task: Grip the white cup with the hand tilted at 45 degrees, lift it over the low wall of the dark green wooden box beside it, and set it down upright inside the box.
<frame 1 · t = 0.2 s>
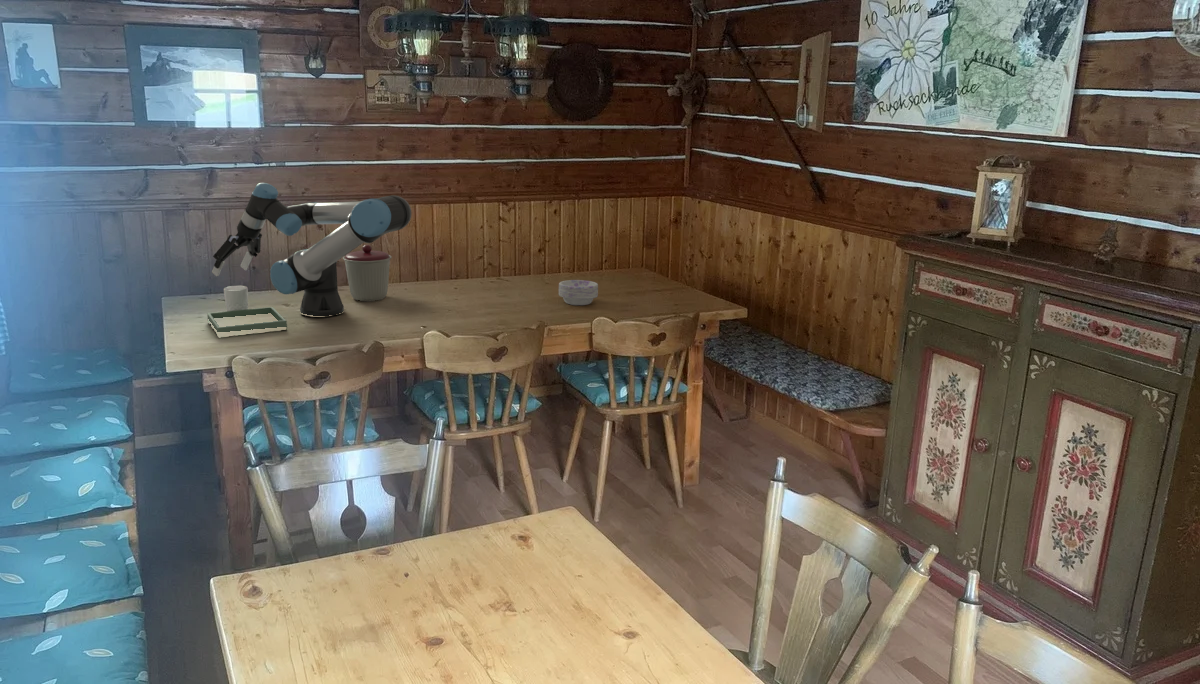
hand: (229, 271, 326), 15 cm above the table, tool tilted 35°, fingers open, 13 cm apart
white cup: (238, 316, 326), on the table
paper bowls: (578, 303, 356), on the table
green box: (247, 326, 312), on the table
canister: (369, 299, 355), on the table
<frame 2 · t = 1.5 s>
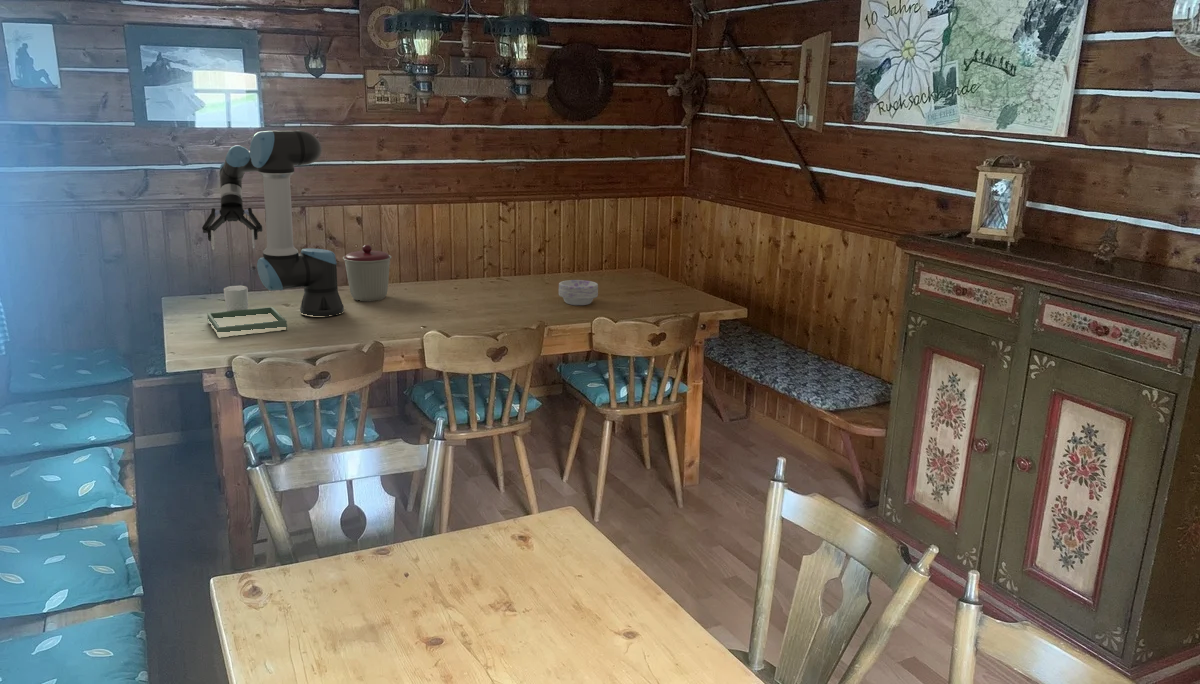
hand: (233, 247, 330), 23 cm above the table, tool tilted 45°, fingers open, 13 cm apart
nothing on the table moved.
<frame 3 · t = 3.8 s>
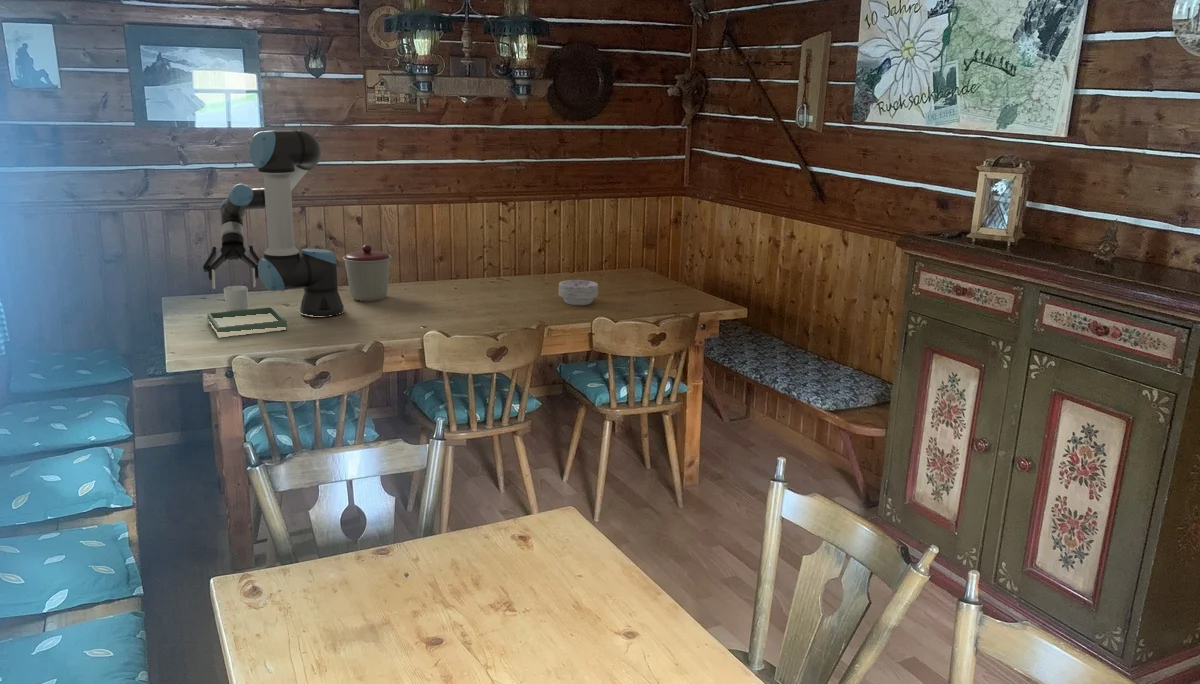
hand: (234, 286, 328), 10 cm above the table, tool tilted 45°, fingers open, 13 cm apart
nothing on the table moved.
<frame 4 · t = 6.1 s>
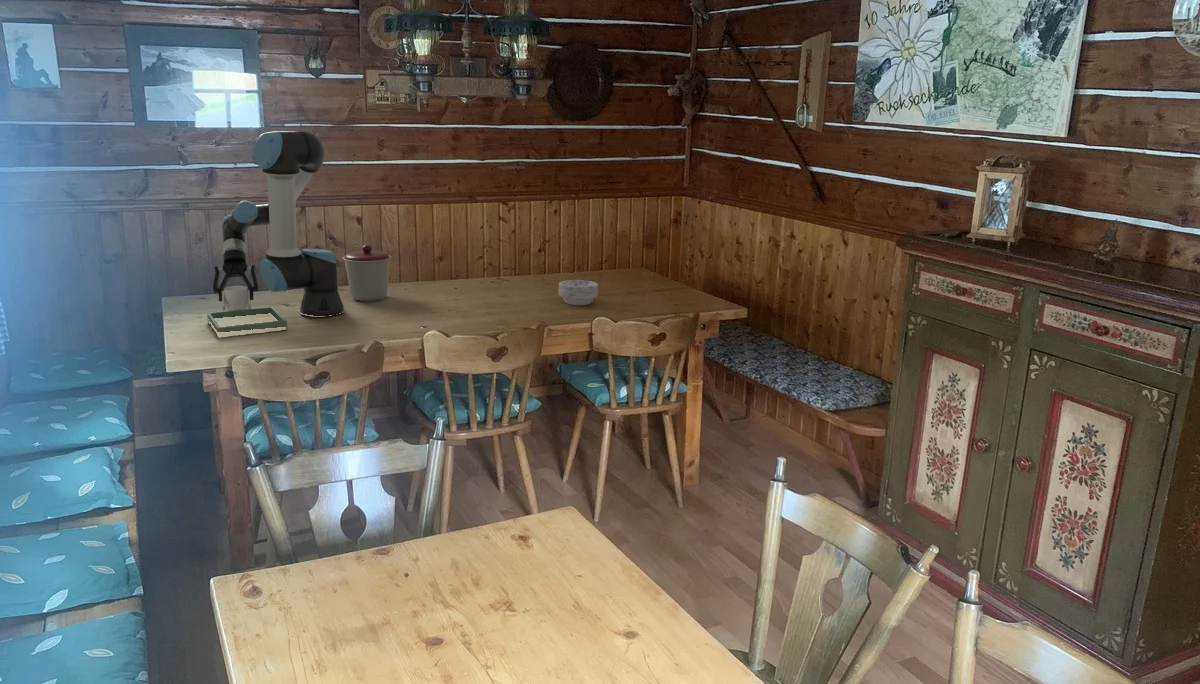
hand: (236, 307, 322), 4 cm above the table, tool tilted 45°, fingers closed on white cup, 8 cm apart
white cup: (238, 316, 326), on the table, touching gripper
everything else where it was.
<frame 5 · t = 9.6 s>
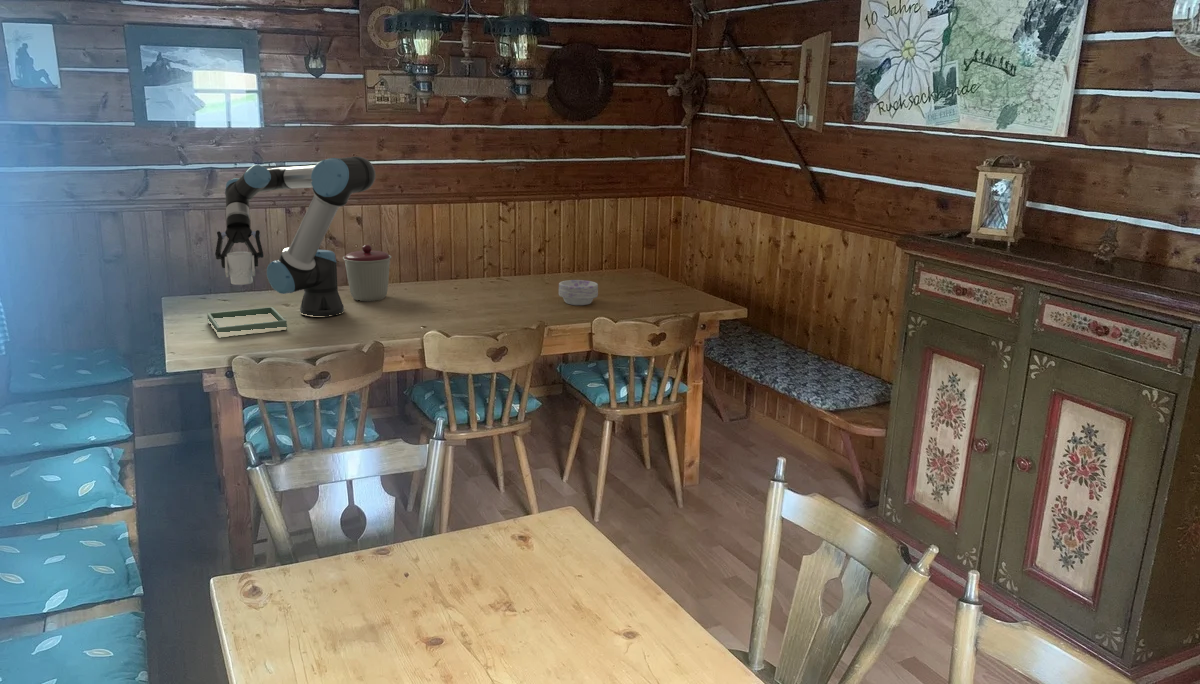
hand: (240, 274, 305), 19 cm above the table, tool tilted 45°, fingers closed on white cup, 8 cm apart
white cup: (242, 283, 309), point 15 cm above the table, touching gripper
everything else where it was.
when the fingers open (7 cm above the table, at t = 13.1 s): white cup drops 2 cm, resting on green box.
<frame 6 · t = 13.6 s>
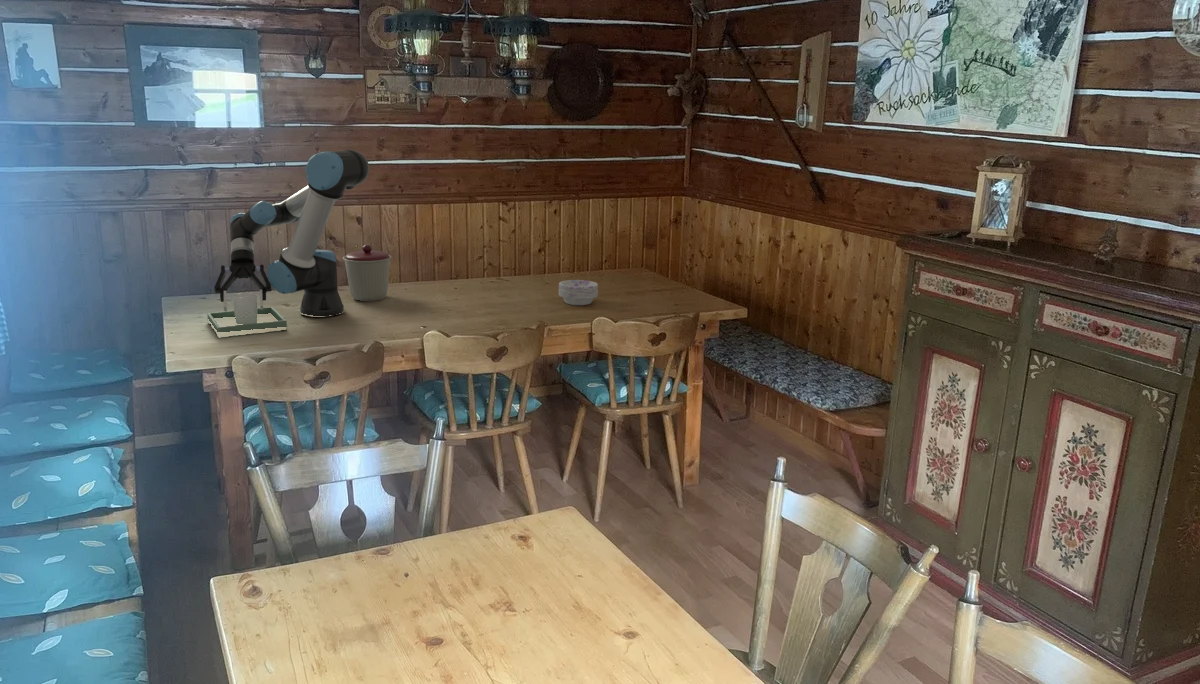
hand: (243, 308, 307), 7 cm above the table, tool tilted 45°, fingers open, 11 cm apart
white cup: (246, 324, 312), point 1 cm above the table, touching green box
everything else where it was.
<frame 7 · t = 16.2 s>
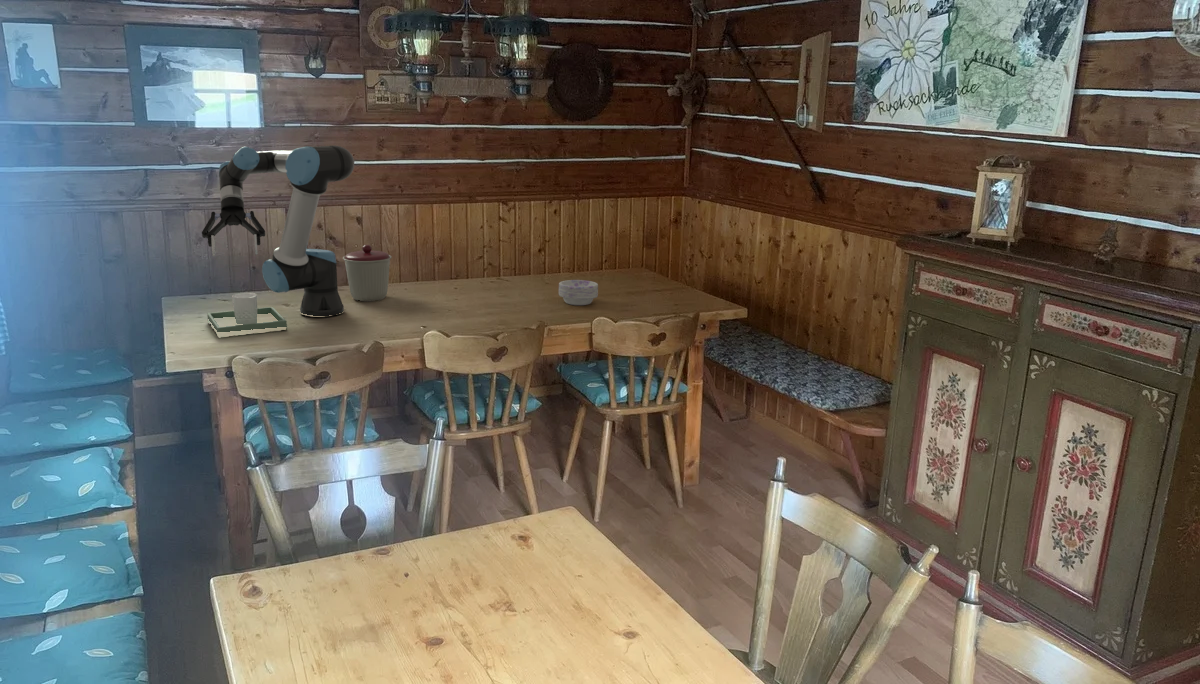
hand: (235, 253, 312), 24 cm above the table, tool tilted 45°, fingers open, 13 cm apart
nothing on the table moved.
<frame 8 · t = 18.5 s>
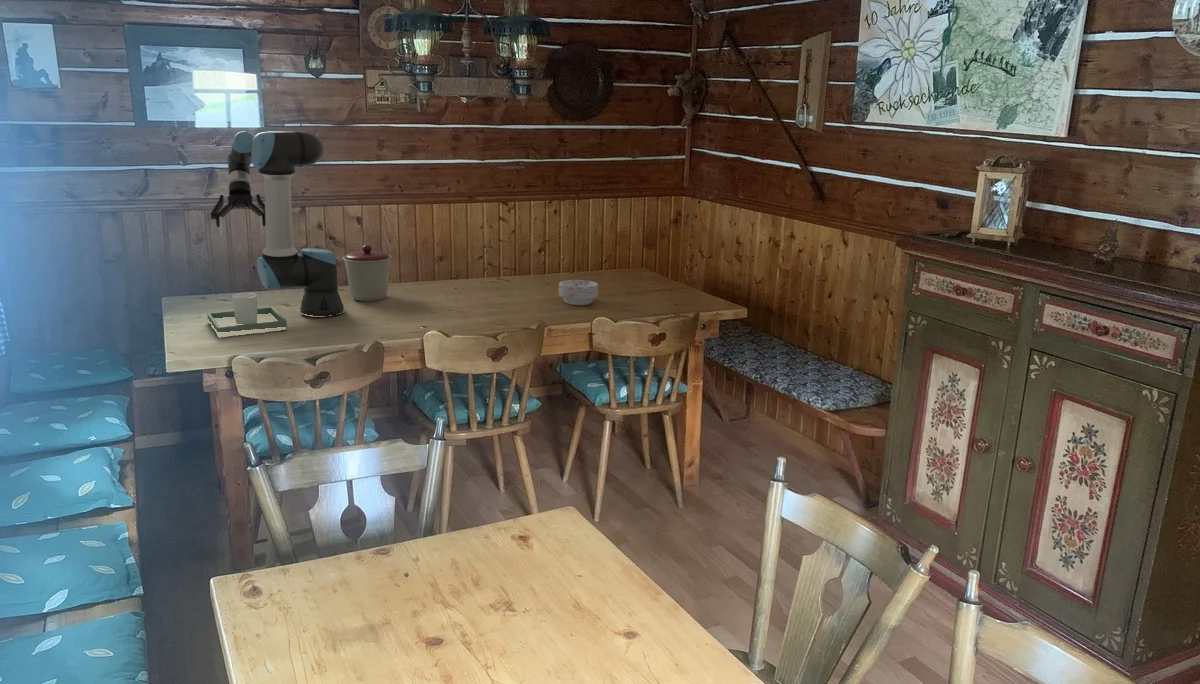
hand: (241, 233, 330), 28 cm above the table, tool tilted 45°, fingers open, 13 cm apart
nothing on the table moved.
at the end: white cup inside the target area on the green box (0.1 cm from its centre), point 0.8 cm above the green box's base; white cup tilted 0°; the gripper is holding nothing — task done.
